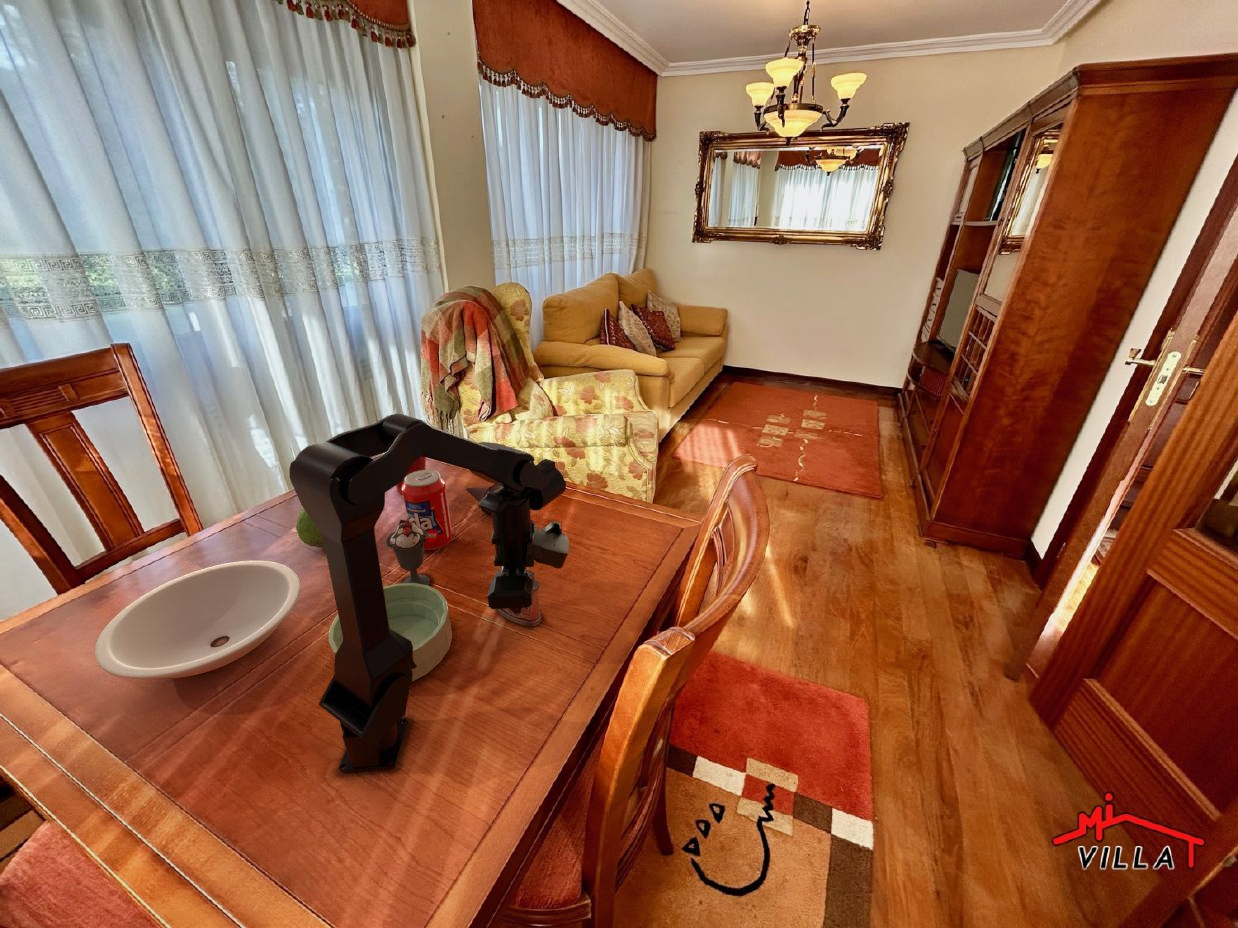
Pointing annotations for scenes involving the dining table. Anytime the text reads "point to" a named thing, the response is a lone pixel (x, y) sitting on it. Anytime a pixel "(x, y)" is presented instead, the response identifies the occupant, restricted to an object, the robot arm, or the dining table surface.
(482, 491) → the icecream
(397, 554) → the sundae
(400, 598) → the bowl
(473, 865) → the dining table surface
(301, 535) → the fruit
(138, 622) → the white sink basin
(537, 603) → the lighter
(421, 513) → the soda can
